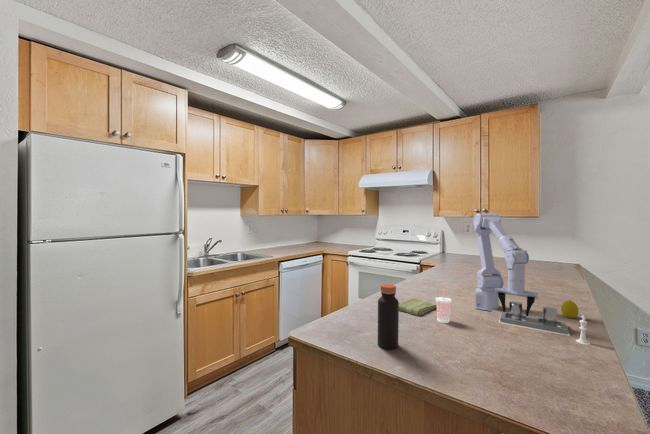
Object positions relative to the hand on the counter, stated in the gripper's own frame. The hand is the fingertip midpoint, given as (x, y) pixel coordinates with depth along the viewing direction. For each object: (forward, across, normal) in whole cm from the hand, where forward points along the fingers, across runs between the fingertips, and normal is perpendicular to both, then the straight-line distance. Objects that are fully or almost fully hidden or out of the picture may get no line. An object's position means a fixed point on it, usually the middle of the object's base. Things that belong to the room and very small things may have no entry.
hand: (515, 313), depth 120 cm
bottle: (+4, -34, -48) cm, 59 cm away
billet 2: (+3, +11, 0) cm, 11 cm away
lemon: (+4, +18, +18) cm, 26 cm away
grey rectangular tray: (+4, +6, 0) cm, 7 cm away
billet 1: (+3, 0, 0) cm, 3 cm away
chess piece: (+4, +20, -10) cm, 22 cm away
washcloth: (+5, -38, -5) cm, 39 cm away
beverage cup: (+4, -24, -14) cm, 29 cm away
